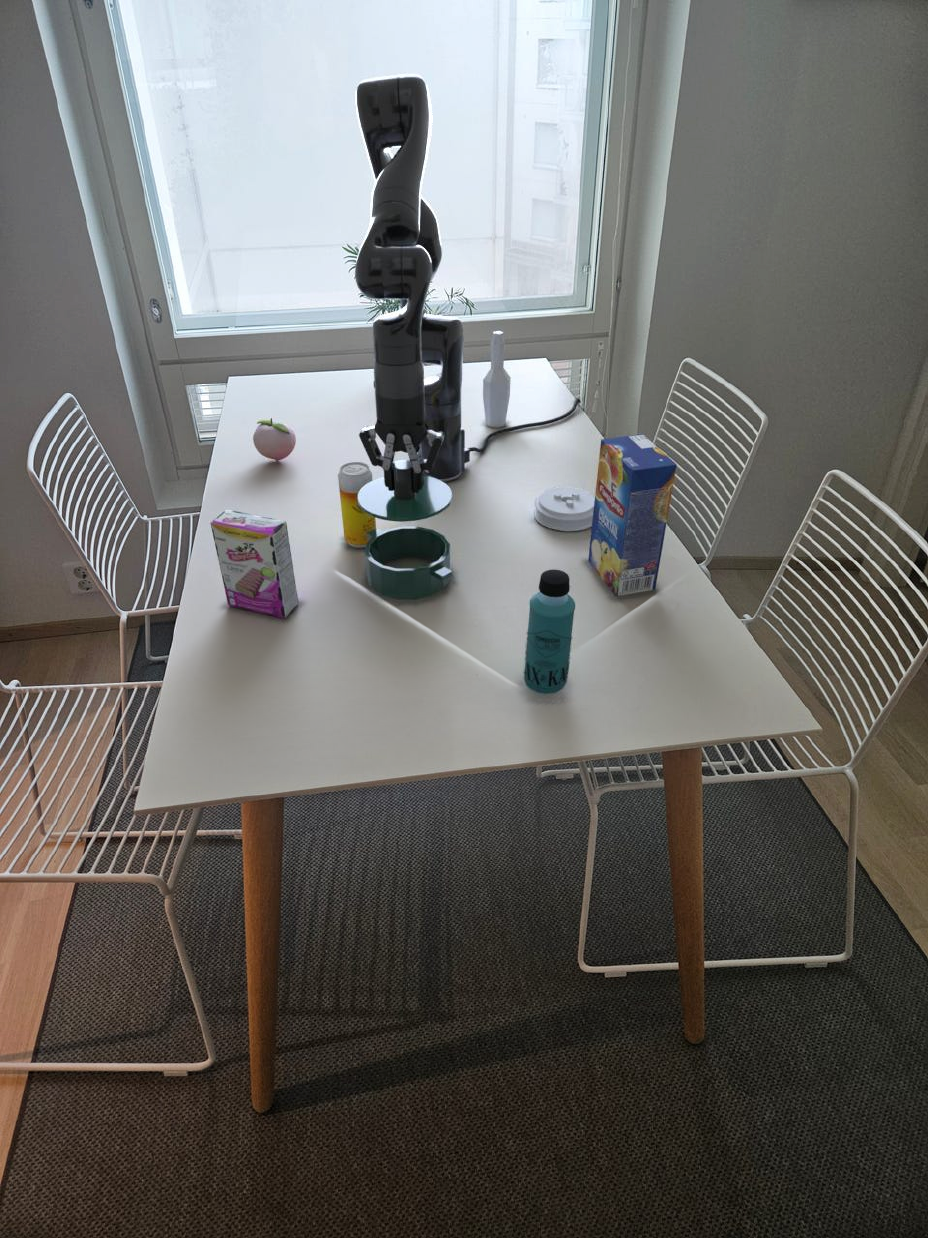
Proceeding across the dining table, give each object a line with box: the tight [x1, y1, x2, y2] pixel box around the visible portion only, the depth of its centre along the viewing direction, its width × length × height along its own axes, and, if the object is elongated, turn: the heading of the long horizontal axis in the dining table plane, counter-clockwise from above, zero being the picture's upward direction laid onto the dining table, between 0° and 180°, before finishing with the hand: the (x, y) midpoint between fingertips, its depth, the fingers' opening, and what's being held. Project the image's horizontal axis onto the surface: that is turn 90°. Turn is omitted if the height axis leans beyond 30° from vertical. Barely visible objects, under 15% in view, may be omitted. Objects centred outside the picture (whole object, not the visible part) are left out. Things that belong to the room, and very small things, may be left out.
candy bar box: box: [209, 508, 299, 619], centre depth 130 cm, size 11×5×16 cm, turn 71°
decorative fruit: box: [252, 417, 297, 462], centre depth 177 cm, size 9×8×10 cm
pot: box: [364, 526, 454, 601], centre depth 140 cm, size 15×20×6 cm
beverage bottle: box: [522, 568, 576, 695], centre depth 113 cm, size 6×7×20 cm
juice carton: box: [587, 433, 678, 597], centre depth 135 cm, size 12×8×24 cm, turn 16°
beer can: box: [337, 461, 377, 549], centre depth 148 cm, size 6×6×15 cm
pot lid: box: [357, 459, 453, 523], centre depth 131 cm, size 16×16×7 cm
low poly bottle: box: [482, 330, 511, 429], centre depth 190 cm, size 6×6×22 cm
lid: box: [533, 486, 595, 532], centre depth 157 cm, size 13×13×5 cm
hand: (404, 489), depth 131 cm, fingers closed on pot lid, 3 cm apart
